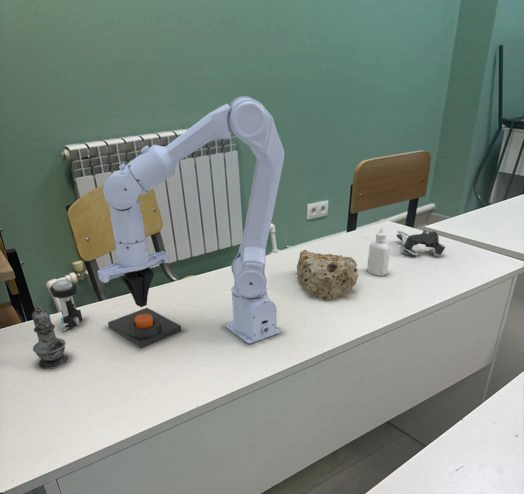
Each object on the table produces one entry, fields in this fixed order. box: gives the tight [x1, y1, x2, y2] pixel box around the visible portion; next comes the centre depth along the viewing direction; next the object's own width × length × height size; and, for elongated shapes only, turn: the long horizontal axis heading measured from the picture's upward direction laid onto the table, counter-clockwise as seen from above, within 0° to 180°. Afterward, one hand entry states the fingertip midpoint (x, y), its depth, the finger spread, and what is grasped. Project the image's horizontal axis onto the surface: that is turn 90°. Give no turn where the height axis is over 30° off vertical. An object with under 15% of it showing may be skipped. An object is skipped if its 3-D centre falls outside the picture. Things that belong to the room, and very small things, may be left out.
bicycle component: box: [396, 230, 446, 257], centre depth 142 cm, size 12×7×15 cm
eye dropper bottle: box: [366, 228, 391, 277], centre depth 126 cm, size 4×6×12 cm
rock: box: [296, 249, 359, 301], centre depth 121 cm, size 21×14×10 cm
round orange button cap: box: [135, 314, 153, 328], centre depth 99 cm, size 4×4×2 cm
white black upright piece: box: [49, 278, 83, 332], centre depth 103 cm, size 7×5×10 cm
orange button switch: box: [107, 307, 182, 349], centre depth 103 cm, size 13×10×3 cm
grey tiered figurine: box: [31, 305, 69, 370], centre depth 90 cm, size 6×6×12 cm
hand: (141, 304), depth 97 cm, fingers closed
